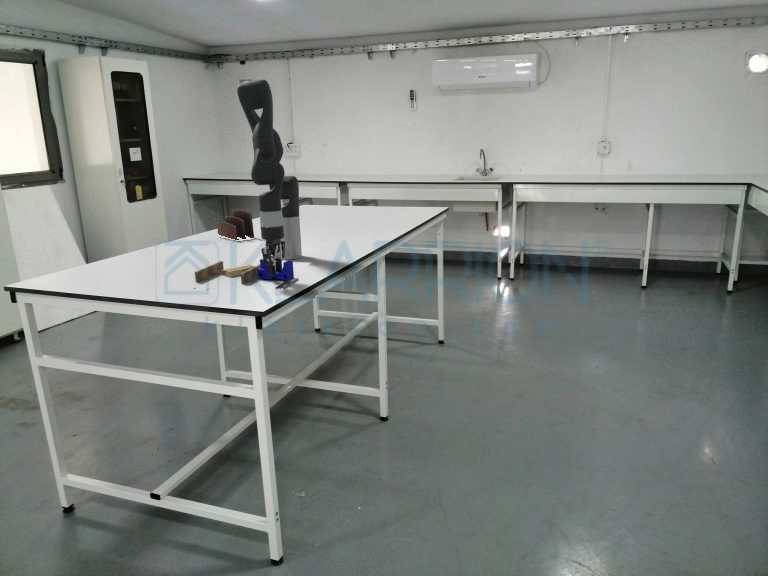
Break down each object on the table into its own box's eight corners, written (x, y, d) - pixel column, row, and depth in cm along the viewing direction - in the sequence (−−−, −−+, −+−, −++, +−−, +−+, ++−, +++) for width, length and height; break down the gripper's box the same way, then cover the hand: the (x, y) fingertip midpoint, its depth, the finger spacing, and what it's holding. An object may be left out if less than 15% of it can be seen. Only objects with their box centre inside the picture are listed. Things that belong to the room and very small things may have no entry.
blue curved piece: (258, 277, 189) (256, 260, 188) (267, 274, 193) (265, 257, 191) (285, 281, 183) (283, 263, 182) (294, 278, 187) (292, 260, 185)
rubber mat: (269, 278, 196) (268, 277, 195) (298, 279, 193) (298, 278, 193) (253, 287, 184) (253, 285, 184) (284, 288, 182) (284, 286, 182)
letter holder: (235, 235, 290) (233, 208, 286) (254, 239, 275) (252, 211, 272) (217, 237, 283) (215, 210, 279) (236, 242, 269) (233, 213, 265)
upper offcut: (222, 275, 197) (221, 269, 196) (249, 269, 204) (248, 264, 203) (229, 277, 193) (228, 271, 193) (256, 271, 201) (256, 266, 200)
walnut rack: (221, 274, 204) (220, 261, 202) (266, 276, 199) (265, 262, 198) (196, 286, 188) (194, 271, 186) (244, 288, 184) (243, 273, 182)
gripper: (270, 220, 191) (274, 268, 196) (251, 227, 178) (256, 278, 182) (290, 221, 189) (294, 269, 194) (273, 227, 176) (277, 279, 180)
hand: (275, 273), depth 188 cm, fingers closed on blue curved piece, 5 cm apart
